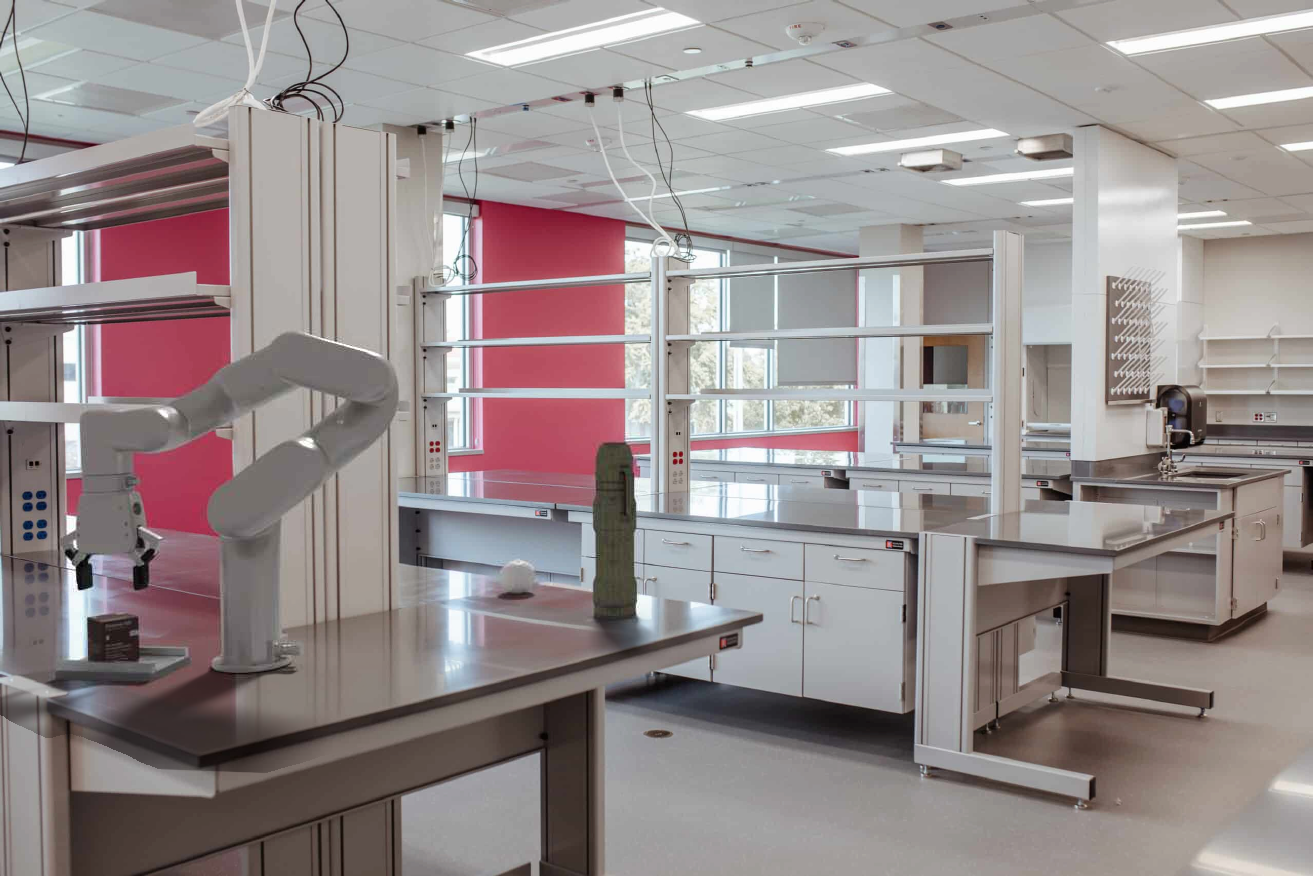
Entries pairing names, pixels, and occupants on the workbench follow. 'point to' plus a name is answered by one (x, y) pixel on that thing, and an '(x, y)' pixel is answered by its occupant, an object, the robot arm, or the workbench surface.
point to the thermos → (614, 533)
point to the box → (113, 637)
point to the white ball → (517, 576)
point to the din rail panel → (126, 666)
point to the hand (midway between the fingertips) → (113, 589)
